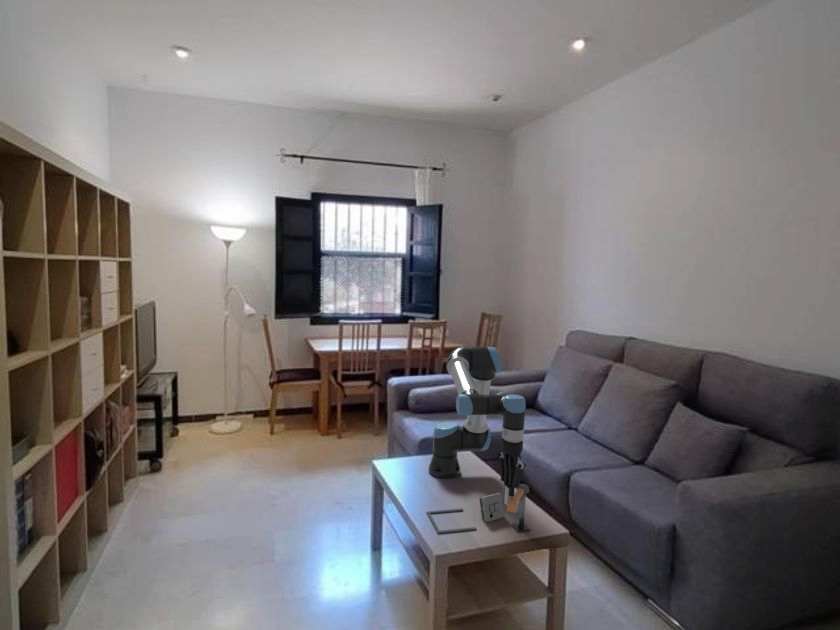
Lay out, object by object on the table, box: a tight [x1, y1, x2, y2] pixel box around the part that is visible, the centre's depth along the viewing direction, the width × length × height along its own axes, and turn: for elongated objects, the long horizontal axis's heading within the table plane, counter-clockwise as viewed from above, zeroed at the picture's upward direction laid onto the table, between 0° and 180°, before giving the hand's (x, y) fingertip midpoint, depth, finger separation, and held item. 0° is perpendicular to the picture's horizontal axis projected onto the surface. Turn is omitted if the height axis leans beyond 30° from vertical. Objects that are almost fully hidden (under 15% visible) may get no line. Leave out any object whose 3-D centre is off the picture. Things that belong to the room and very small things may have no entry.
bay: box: [425, 508, 478, 535], centre depth 191 cm, size 16×15×1 cm
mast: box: [511, 493, 531, 533], centre depth 187 cm, size 5×5×14 cm
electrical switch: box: [478, 492, 505, 523], centre depth 195 cm, size 9×5×9 cm, turn 121°
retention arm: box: [506, 483, 530, 514], centre depth 180 cm, size 17×4×4 cm, turn 153°
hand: (508, 503), depth 178 cm, fingers closed
